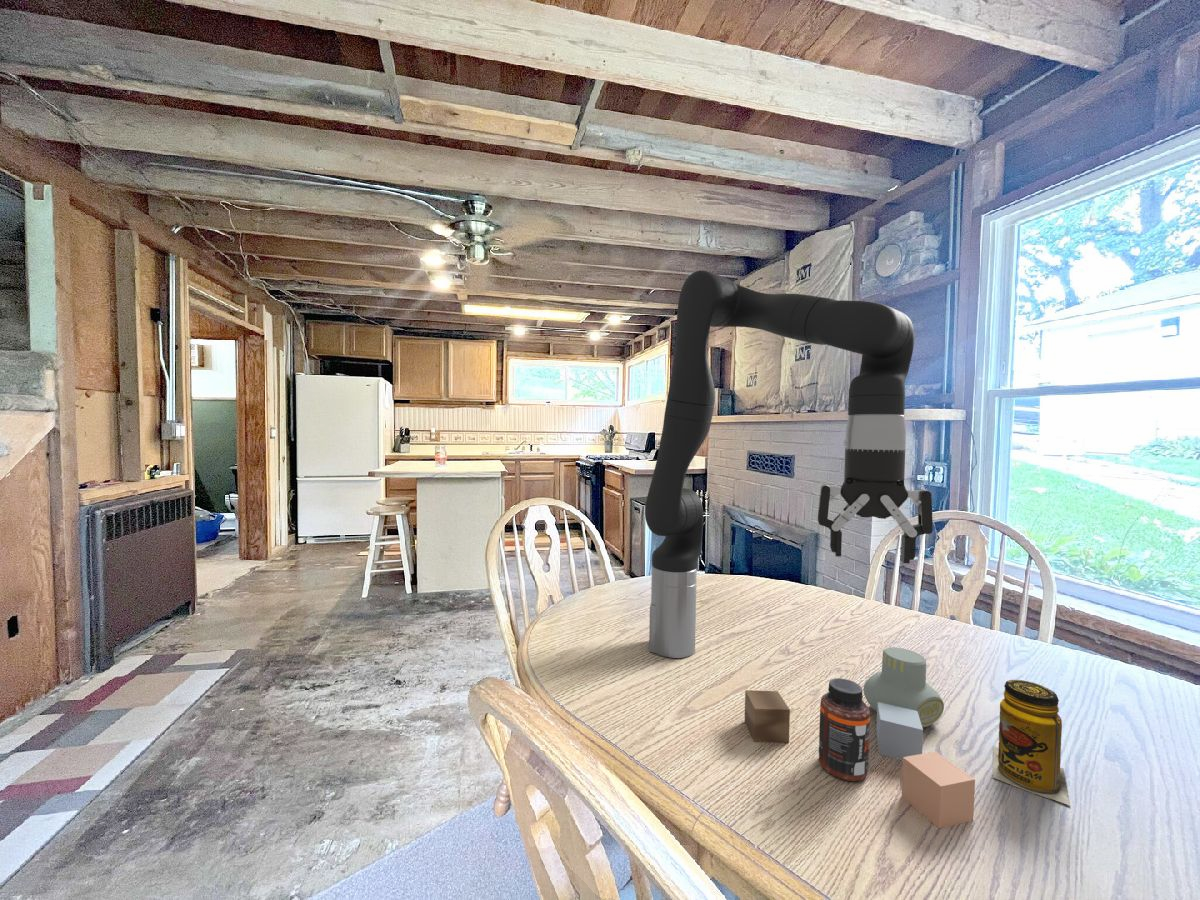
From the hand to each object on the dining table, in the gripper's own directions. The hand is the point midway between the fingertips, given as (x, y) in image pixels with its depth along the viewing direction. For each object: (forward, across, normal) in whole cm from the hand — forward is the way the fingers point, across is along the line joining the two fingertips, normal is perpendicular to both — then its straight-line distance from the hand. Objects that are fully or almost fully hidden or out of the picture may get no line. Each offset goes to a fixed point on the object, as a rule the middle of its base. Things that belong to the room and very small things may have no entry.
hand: (870, 558), depth 69 cm
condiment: (+27, +19, +1) cm, 33 cm away
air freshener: (+27, +6, +9) cm, 29 cm away
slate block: (+27, +4, 0) cm, 27 cm away
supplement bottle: (+27, -4, -8) cm, 28 cm away
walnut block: (+27, -14, -4) cm, 30 cm away
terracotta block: (+27, +6, -11) cm, 30 cm away
